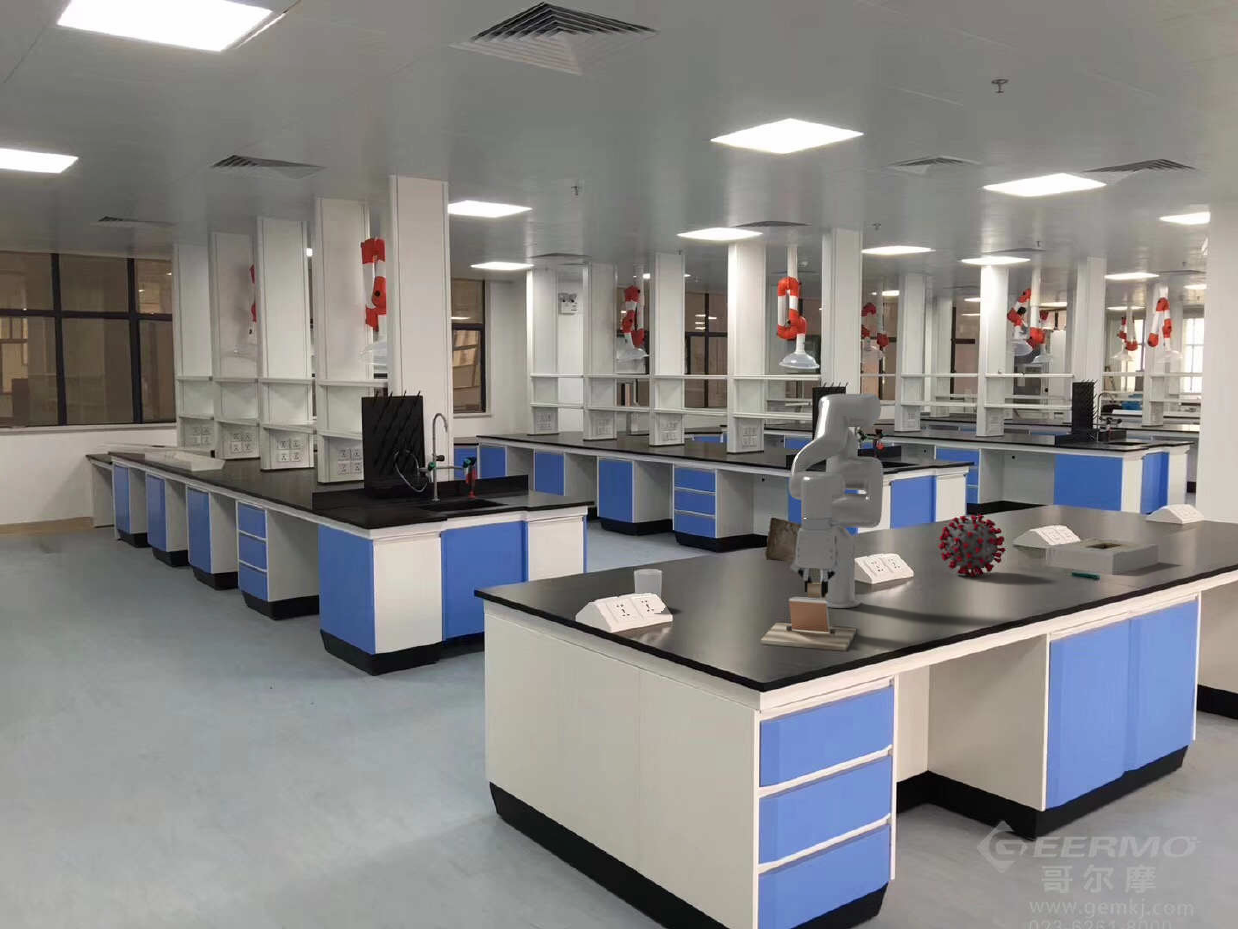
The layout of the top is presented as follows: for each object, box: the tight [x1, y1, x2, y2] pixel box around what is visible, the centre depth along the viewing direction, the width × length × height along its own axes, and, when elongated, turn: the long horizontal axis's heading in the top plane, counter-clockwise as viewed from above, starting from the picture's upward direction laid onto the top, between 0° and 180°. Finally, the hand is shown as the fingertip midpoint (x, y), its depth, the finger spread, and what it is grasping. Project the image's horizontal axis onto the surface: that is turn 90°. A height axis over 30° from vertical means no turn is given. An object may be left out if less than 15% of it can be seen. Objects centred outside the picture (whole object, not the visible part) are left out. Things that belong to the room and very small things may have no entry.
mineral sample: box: [765, 517, 801, 563], centre depth 342 cm, size 17×4×15 cm, turn 41°
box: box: [1045, 537, 1159, 576], centre depth 330 cm, size 23×8×32 cm
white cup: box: [633, 568, 663, 600], centre depth 272 cm, size 8×8×10 cm
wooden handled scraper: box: [792, 582, 829, 601], centre depth 243 cm, size 19×8×4 cm, turn 159°
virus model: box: [938, 514, 1006, 577], centre depth 313 cm, size 20×20×20 cm
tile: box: [788, 597, 830, 632], centre depth 235 cm, size 9×9×1 cm
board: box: [760, 622, 857, 652], centre depth 236 cm, size 18×20×2 cm
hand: (816, 595), depth 245 cm, fingers closed on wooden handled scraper, 3 cm apart
